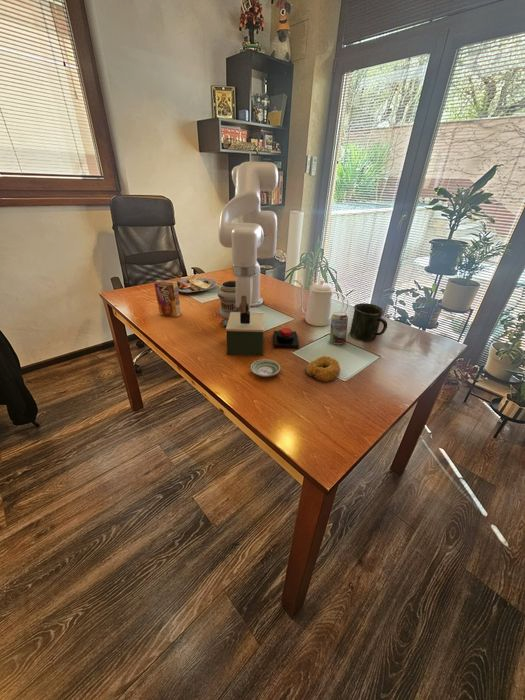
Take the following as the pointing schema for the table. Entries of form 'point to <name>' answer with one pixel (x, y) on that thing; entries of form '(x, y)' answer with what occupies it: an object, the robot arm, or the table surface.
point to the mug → (367, 322)
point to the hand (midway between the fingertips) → (245, 322)
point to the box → (244, 343)
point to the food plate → (195, 284)
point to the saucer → (265, 368)
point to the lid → (253, 326)
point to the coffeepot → (319, 303)
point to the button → (286, 332)
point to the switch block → (285, 340)
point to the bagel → (324, 368)
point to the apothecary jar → (227, 300)
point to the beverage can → (338, 327)
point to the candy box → (167, 298)
